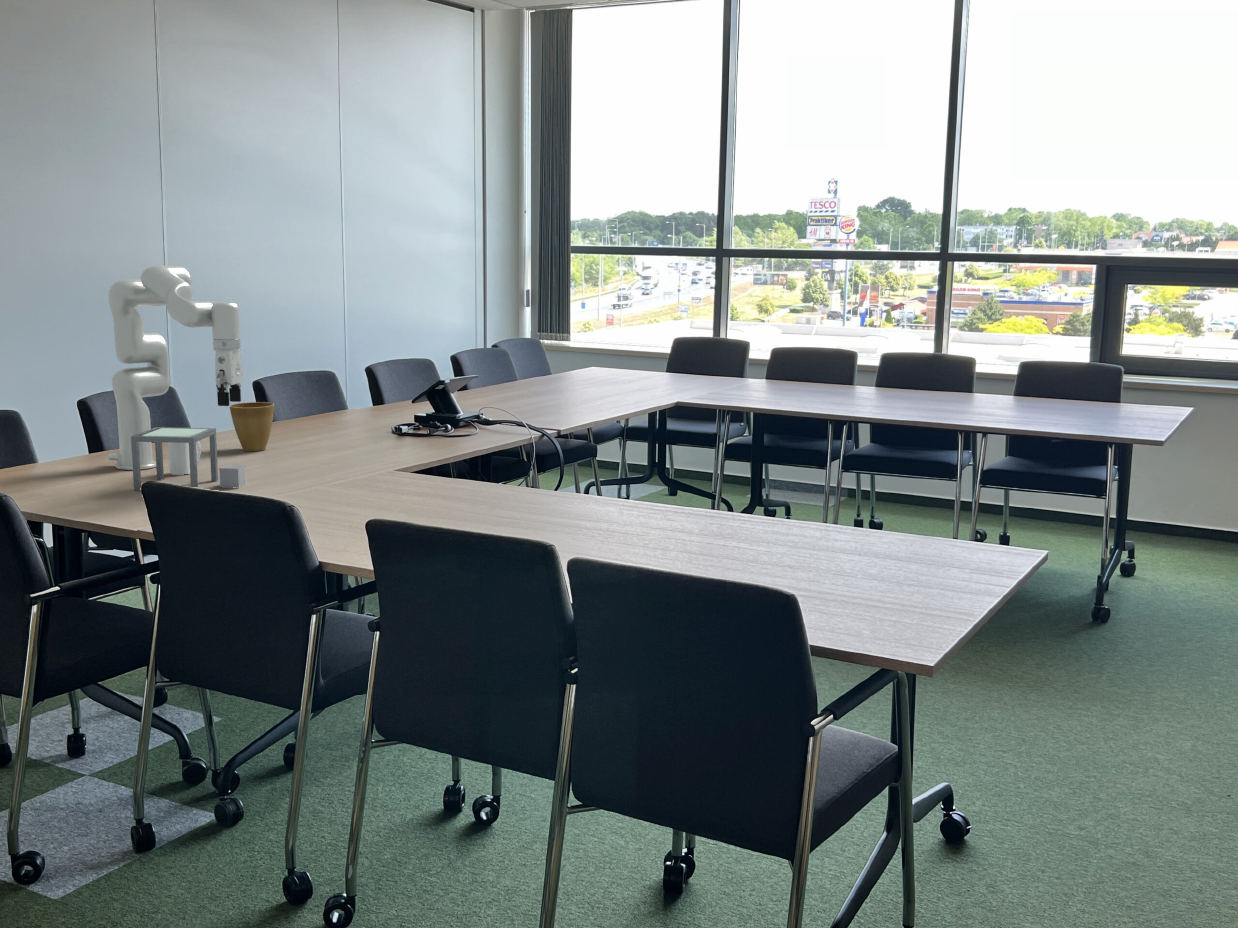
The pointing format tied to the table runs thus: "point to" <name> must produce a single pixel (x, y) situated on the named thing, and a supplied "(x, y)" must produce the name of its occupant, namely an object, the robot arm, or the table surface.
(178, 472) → the mug
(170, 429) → the trapdoor
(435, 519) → the table surface
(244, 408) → the plant pot
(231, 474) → the grey cube
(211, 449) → the stand
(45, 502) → the table surface
